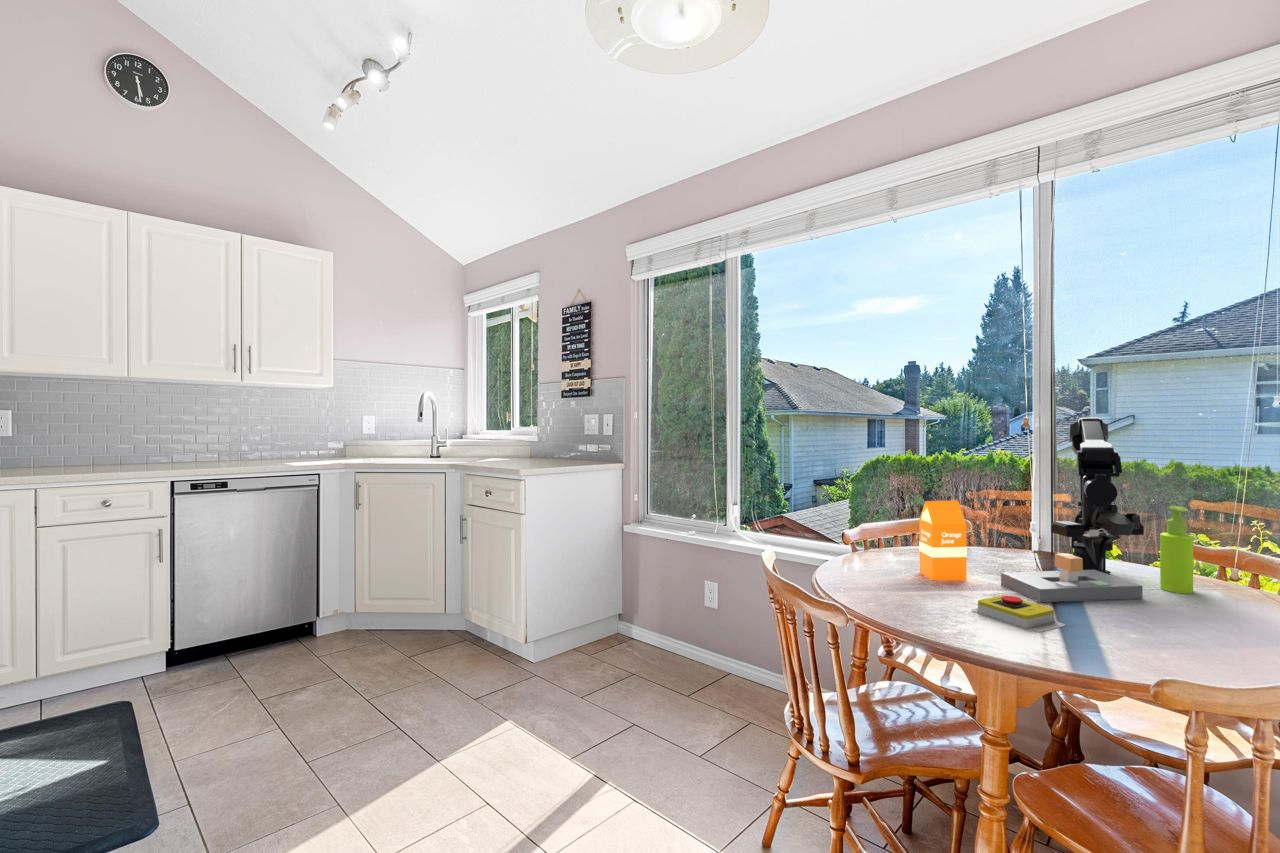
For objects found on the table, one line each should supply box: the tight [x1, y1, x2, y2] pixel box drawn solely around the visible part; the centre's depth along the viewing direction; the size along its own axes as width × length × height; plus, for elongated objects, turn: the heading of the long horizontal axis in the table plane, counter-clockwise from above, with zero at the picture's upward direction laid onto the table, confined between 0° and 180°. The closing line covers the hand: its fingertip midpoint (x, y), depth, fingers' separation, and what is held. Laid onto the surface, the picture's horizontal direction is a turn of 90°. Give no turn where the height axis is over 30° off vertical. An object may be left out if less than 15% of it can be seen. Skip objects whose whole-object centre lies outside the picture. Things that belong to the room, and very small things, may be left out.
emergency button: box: [971, 594, 1066, 633], centre depth 128 cm, size 9×4×15 cm
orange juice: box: [918, 500, 968, 581], centre depth 160 cm, size 8×9×20 cm
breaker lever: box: [1054, 552, 1083, 582], centre depth 145 cm, size 3×5×7 cm, turn 2°
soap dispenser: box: [1159, 505, 1194, 594], centre depth 144 cm, size 6×7×20 cm
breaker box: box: [1000, 570, 1144, 603], centre depth 145 cm, size 24×14×3 cm, turn 92°
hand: (1096, 563), depth 145 cm, fingers closed
